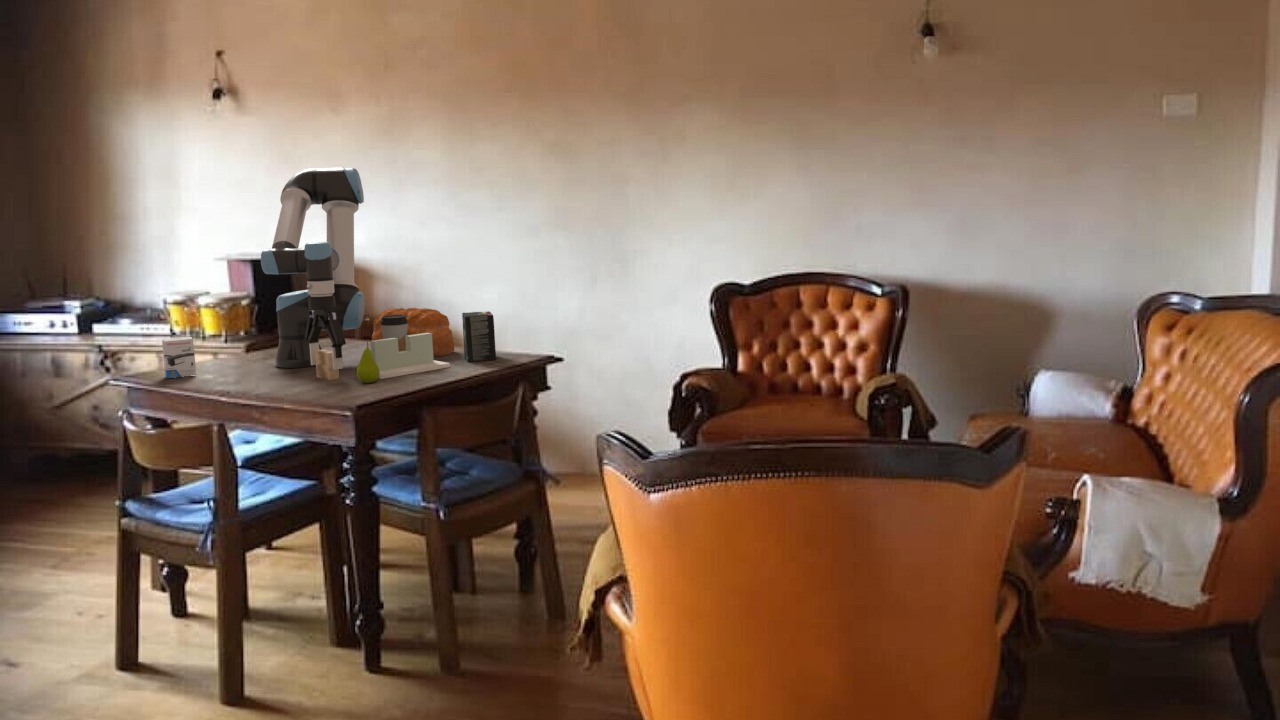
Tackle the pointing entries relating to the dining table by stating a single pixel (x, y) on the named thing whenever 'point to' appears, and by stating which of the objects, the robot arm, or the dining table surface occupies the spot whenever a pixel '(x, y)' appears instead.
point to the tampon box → (479, 336)
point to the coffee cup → (395, 329)
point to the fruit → (367, 367)
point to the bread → (422, 327)
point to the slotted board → (405, 356)
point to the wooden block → (325, 365)
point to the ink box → (179, 357)
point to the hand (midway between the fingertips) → (326, 366)
